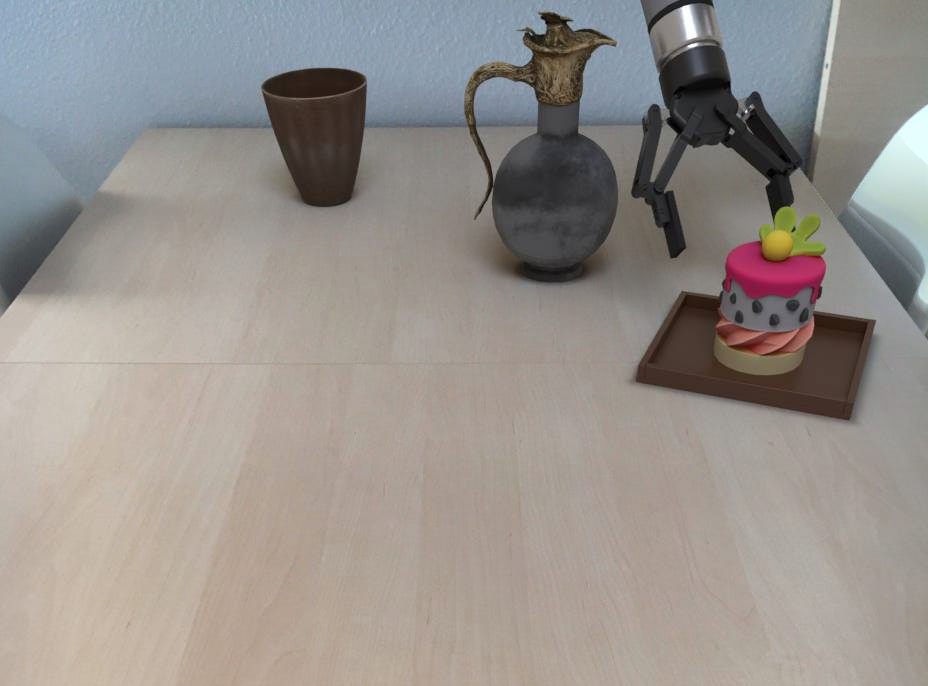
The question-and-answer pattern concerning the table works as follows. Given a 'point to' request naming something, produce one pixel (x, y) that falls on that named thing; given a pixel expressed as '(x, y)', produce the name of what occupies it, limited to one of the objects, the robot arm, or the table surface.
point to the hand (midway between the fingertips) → (733, 244)
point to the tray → (803, 389)
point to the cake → (770, 297)
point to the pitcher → (550, 159)
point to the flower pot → (319, 129)
